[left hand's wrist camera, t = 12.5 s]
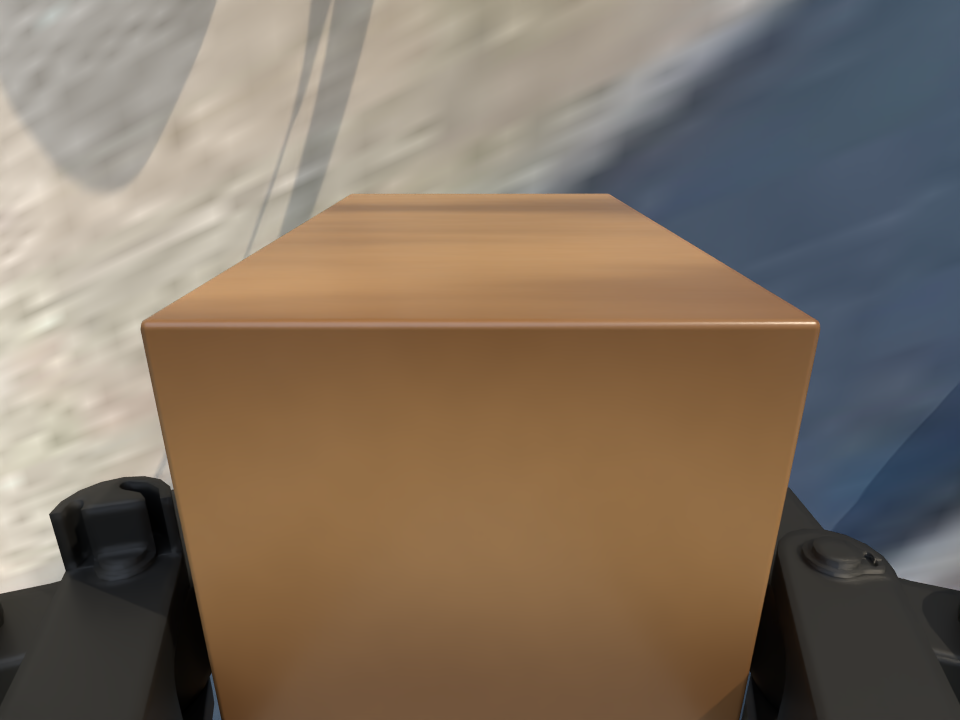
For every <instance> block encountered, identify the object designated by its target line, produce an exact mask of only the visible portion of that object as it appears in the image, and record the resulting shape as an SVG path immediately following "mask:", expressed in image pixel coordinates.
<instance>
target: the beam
mask: <svg viewBox="0 0 960 720" xmlns="http://www.w3.org/2000/svg"><path fill="white" fill-rule="evenodd" d="M819 333H820V324H819V322H818V321H817V320H816V319H814V318H812V317H811V316H809V315H808V314H806V313H804V312H803V311H801V310H799V309H798V308H796V307H794V306H793V305H791V304H789V303H788V302H786V301H784V300H783V299H781V298H779V297H778V296H776V295H775V294H773V293H771V292H770V291H768V290H766V289H765V288H763V287H761V286H760V285H758V284H756V283H755V282H753V281H751V280H750V279H748V278H746V277H745V276H743V275H742V274H740V273H738V272H737V271H735V270H733V269H732V268H730V267H728V266H727V265H725V264H723V263H722V262H720V261H718V260H717V259H715V258H714V257H712V256H710V255H709V254H707V253H705V252H704V251H702V250H700V249H699V248H697V247H695V246H694V245H692V244H690V243H689V242H687V241H685V240H684V239H682V238H681V237H679V236H677V235H676V234H674V233H672V232H671V231H669V230H667V229H666V228H664V227H662V226H661V225H659V224H657V223H656V222H654V221H652V220H651V219H649V218H648V217H646V216H644V215H643V214H641V213H639V212H638V211H636V210H634V209H633V208H631V207H629V206H628V205H626V204H624V203H623V202H621V201H620V200H618V199H616V198H615V197H613V196H611V195H609V194H351V195H349V196H347V197H346V198H344V199H342V200H341V201H339V202H338V203H336V204H334V205H333V206H331V207H329V208H328V209H326V210H324V211H323V212H321V213H319V214H318V215H316V216H315V217H313V218H311V219H310V220H308V221H306V222H305V223H303V224H301V225H300V226H298V227H296V228H295V229H293V230H292V231H290V232H288V233H287V234H285V235H283V236H282V237H280V238H278V239H277V240H275V241H273V242H272V243H270V244H269V245H267V246H265V247H264V248H262V249H260V250H259V251H257V252H255V253H254V254H252V255H250V256H249V257H247V258H246V259H244V260H242V261H241V262H239V263H237V264H236V265H234V266H232V267H231V268H229V269H227V270H226V271H224V272H223V273H221V274H219V275H218V276H216V277H214V278H213V279H211V280H209V281H208V282H206V283H204V284H203V285H201V286H200V287H198V288H196V289H195V290H193V291H191V292H190V293H188V294H186V295H185V296H183V297H181V298H180V299H178V300H177V301H175V302H173V303H172V304H170V305H168V306H167V307H165V308H163V309H162V310H160V311H158V312H157V313H155V314H154V315H152V316H150V317H149V318H147V319H145V320H144V321H142V324H141V334H142V339H143V343H144V348H145V353H146V358H147V363H148V367H149V372H150V377H151V382H152V387H153V392H154V396H155V401H156V406H157V411H158V416H159V420H160V425H161V430H162V435H163V440H164V445H165V449H166V454H167V459H168V464H169V469H170V474H171V478H172V483H173V488H174V493H175V498H176V502H177V507H178V512H179V517H180V522H181V527H182V531H183V536H184V541H185V546H186V551H187V555H188V560H189V565H190V570H191V575H192V580H193V584H194V589H195V594H196V599H197V604H198V608H199V613H200V618H201V623H202V628H203V633H204V637H205V642H206V647H207V652H208V657H209V662H210V666H211V671H212V676H213V681H214V686H215V690H216V695H217V700H218V705H219V710H220V715H221V719H222V720H739V718H740V713H741V709H742V704H743V699H744V694H745V689H746V684H747V680H748V675H749V670H750V665H751V660H752V656H753V651H754V646H755V641H756V636H757V631H758V627H759V622H760V617H761V612H762V607H763V602H764V598H765V593H766V588H767V583H768V578H769V574H770V569H771V564H772V559H773V554H774V549H775V545H776V540H777V535H778V530H779V525H780V521H781V516H782V511H783V506H784V501H785V496H786V492H787V487H788V482H789V477H790V472H791V468H792V463H793V458H794V453H795V448H796V443H797V439H798V434H799V429H800V424H801V419H802V414H803V410H804V405H805V400H806V395H807V390H808V386H809V381H810V376H811V371H812V366H813V361H814V357H815V352H816V347H817V342H818V337H819Z"/></svg>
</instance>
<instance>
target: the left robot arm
mask: <svg viewBox="0 0 960 720" xmlns="http://www.w3.org/2000/svg"><path fill="white" fill-rule="evenodd" d="M49 516H50V519H51V522H52V526H53V529H54V533H55V536H56V539H57V543H58V546H59V549H60V553H61V556H62V560H63V563H64V566H65V570H66V572H65V574H64V576H63V578H62V580H61V581H58V582H55V583H51V584H46V585H41V586H36V587H32V588H27V589H22V590H17V591H12V592H7V593H2V594H0V720H212V717H213V709H214V698H213V691H212V686H211V681H210V675H211V673H212V671H211V666H210V662H209V657H208V652H207V647H206V642H205V637H204V633H203V628H202V623H201V618H200V613H199V608H198V604H197V599H196V594H195V589H194V584H193V580H192V575H191V570H190V565H189V560H188V555H187V551H186V546H185V541H184V536H183V531H182V527H181V522H180V517H179V512H178V507H177V502H176V498H175V493H174V490H171V489H170V486H169V485H167V484H166V483H165V482H163V481H162V480H161V479H156V478H151V477H146V476H139V477H122V478H118V479H113V480H109V481H104V482H100V483H98V484H95V485H93V486H90V487H87V488H85V489H82V490H80V491H78V492H76V493H75V494H73V495H71V496H70V497H68V498H66V499H65V500H63V501H61V502H60V503H59V504H58V505H57V506H56V508H55V509H54V510H53V511H52V512H51V513H50V514H49ZM750 673H751V676H750V681H749V686H748V690H747V695H746V700H745V705H744V710H743V714H742V719H741V720H960V591H957V590H952V589H948V588H943V587H938V586H933V585H928V584H923V583H918V582H913V581H909V580H905V579H901V578H898V577H897V575H896V573H895V571H894V569H893V568H892V567H891V565H890V564H889V563H888V562H887V560H886V559H885V558H884V557H883V556H882V555H881V554H879V553H878V552H876V551H875V550H873V549H872V548H871V547H869V546H868V545H866V544H864V543H862V542H860V541H858V540H855V539H853V538H851V537H849V536H847V535H844V534H840V533H836V532H832V531H828V530H824V529H823V528H822V526H821V525H820V524H819V523H818V522H817V520H816V519H815V518H814V517H813V516H812V514H811V513H810V512H809V511H808V510H807V508H806V507H805V506H804V505H803V504H802V502H801V501H800V500H799V499H798V498H797V496H796V495H795V494H794V493H793V492H792V490H791V489H790V488H787V492H786V496H785V501H784V506H783V511H782V516H781V521H780V525H779V530H778V535H777V540H776V545H775V549H774V554H773V559H772V564H771V569H770V574H769V578H768V583H767V588H766V593H765V598H764V602H763V607H762V612H761V617H760V622H759V627H758V631H757V636H756V641H755V646H754V651H753V656H752V660H751V665H750Z"/></svg>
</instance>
